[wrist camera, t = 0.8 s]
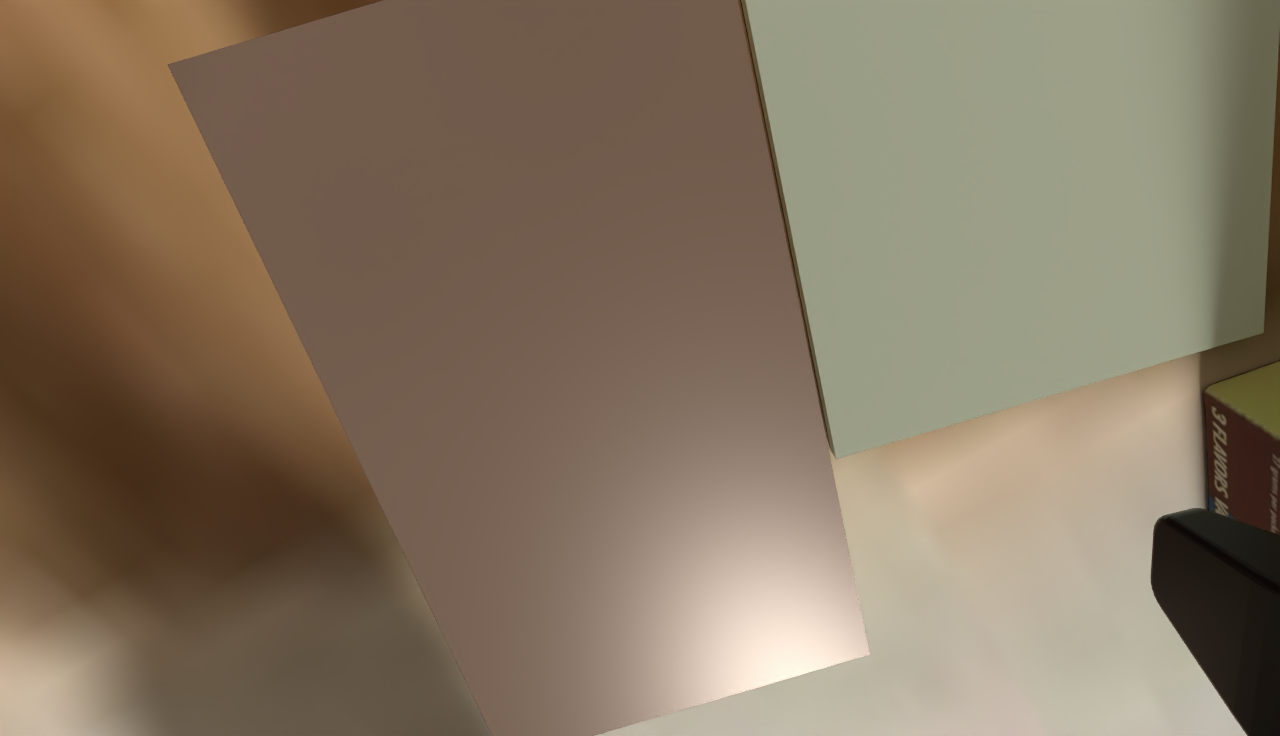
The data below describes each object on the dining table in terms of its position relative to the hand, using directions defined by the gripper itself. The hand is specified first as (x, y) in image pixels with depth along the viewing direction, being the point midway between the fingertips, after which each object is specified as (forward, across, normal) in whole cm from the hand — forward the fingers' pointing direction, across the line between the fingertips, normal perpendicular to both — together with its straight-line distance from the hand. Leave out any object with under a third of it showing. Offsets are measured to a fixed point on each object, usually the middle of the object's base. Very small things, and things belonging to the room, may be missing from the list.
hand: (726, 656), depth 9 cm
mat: (+12, -9, -2) cm, 15 cm away
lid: (+8, +1, 0) cm, 9 cm away
